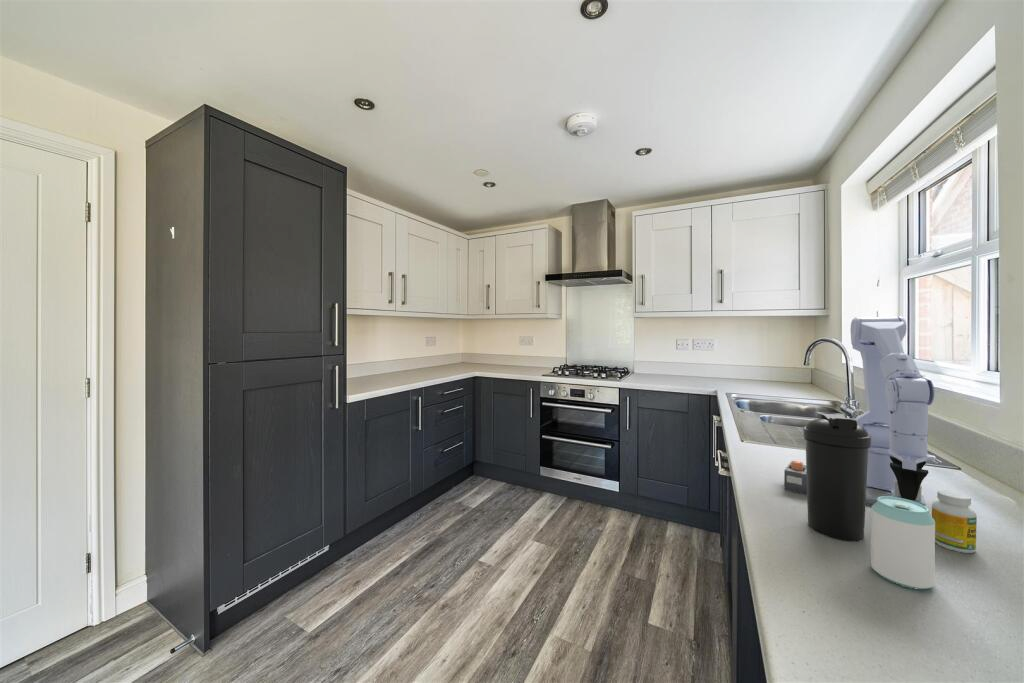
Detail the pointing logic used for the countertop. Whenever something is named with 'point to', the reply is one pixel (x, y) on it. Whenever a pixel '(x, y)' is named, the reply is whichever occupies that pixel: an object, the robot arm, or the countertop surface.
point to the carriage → (918, 500)
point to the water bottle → (836, 476)
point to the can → (903, 542)
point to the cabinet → (795, 480)
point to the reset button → (797, 465)
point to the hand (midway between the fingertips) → (907, 494)
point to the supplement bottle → (954, 522)
